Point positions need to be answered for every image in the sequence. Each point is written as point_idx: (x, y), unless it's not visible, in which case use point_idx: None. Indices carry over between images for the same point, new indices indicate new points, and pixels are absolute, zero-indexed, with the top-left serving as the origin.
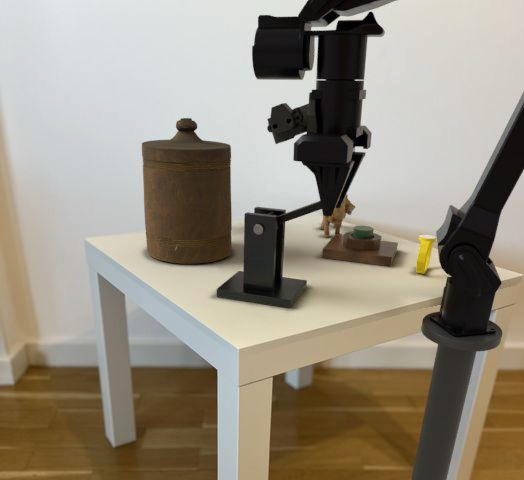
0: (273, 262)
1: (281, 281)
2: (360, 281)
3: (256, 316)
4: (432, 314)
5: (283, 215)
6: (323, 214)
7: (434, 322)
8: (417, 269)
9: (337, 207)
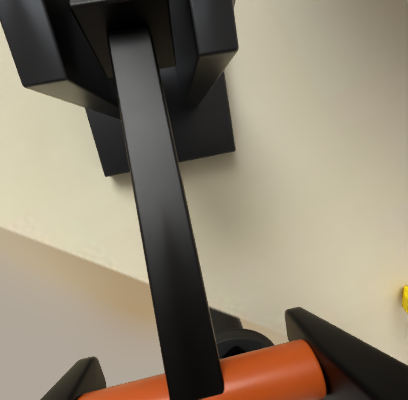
0: (103, 113)
1: (191, 107)
2: (319, 222)
3: (29, 137)
4: (254, 343)
5: (117, 98)
6: (75, 364)
7: (224, 355)
8: (403, 295)
9: (288, 332)
